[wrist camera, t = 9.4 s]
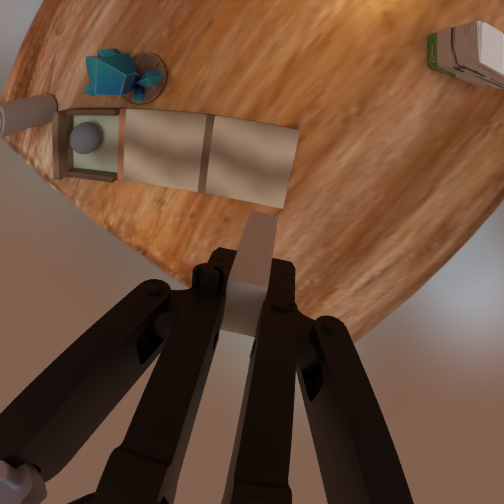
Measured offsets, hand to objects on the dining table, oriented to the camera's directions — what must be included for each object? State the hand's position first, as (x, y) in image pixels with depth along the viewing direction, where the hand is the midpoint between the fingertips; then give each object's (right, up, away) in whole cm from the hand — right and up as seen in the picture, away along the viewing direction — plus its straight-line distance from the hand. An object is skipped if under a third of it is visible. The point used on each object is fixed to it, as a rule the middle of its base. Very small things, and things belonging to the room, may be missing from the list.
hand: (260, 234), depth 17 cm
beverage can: (-32, +21, +16) cm, 42 cm away
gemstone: (-15, +21, +14) cm, 29 cm away
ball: (-23, +14, +16) cm, 31 cm away
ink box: (+25, +23, +7) cm, 35 cm away
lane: (-12, +12, +18) cm, 25 cm away
